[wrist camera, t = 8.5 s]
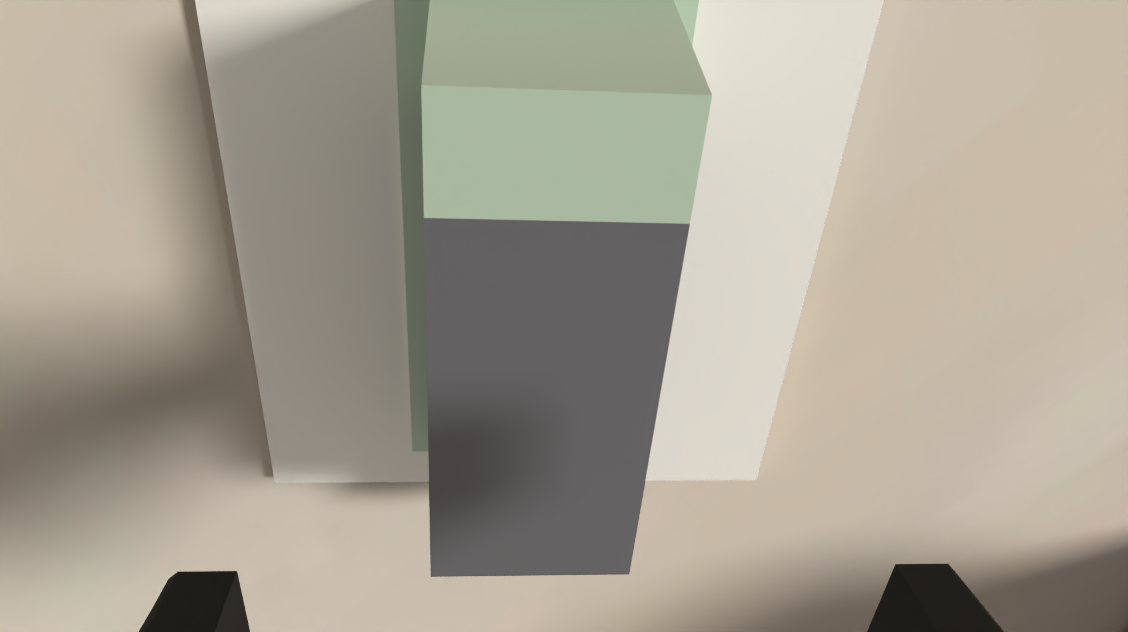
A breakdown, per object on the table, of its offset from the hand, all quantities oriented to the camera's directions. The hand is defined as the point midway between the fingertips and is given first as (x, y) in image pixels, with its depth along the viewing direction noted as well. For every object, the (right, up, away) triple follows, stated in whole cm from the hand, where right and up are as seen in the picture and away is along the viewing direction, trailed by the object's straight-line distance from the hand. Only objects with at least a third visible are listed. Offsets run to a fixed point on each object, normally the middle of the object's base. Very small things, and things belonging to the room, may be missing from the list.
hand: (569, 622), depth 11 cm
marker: (-1, +5, +6) cm, 8 cm away
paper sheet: (-1, +5, +6) cm, 8 cm away
